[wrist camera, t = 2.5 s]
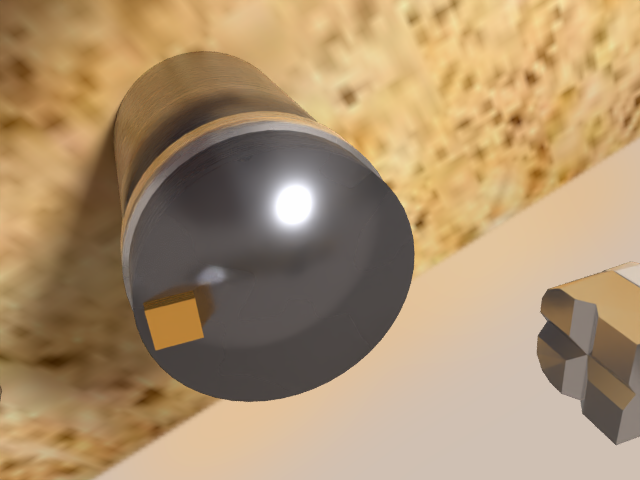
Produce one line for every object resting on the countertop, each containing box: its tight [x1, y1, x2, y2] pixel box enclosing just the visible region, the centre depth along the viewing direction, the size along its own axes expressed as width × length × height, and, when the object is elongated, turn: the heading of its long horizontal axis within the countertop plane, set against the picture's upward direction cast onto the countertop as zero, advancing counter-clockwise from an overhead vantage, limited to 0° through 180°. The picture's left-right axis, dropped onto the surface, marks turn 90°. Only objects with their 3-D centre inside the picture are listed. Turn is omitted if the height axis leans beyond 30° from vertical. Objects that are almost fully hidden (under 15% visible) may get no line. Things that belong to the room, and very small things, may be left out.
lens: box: [113, 51, 414, 402], centre depth 14 cm, size 5×5×8 cm
